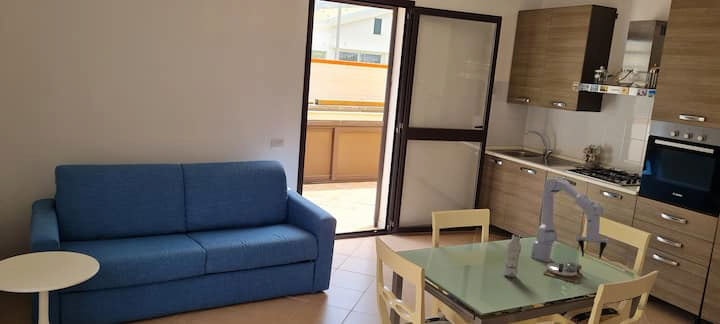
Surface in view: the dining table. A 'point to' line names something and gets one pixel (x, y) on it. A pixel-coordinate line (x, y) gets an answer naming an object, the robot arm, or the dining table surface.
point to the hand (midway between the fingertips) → (591, 257)
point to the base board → (570, 279)
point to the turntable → (560, 270)
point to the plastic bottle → (512, 257)
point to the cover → (571, 267)
